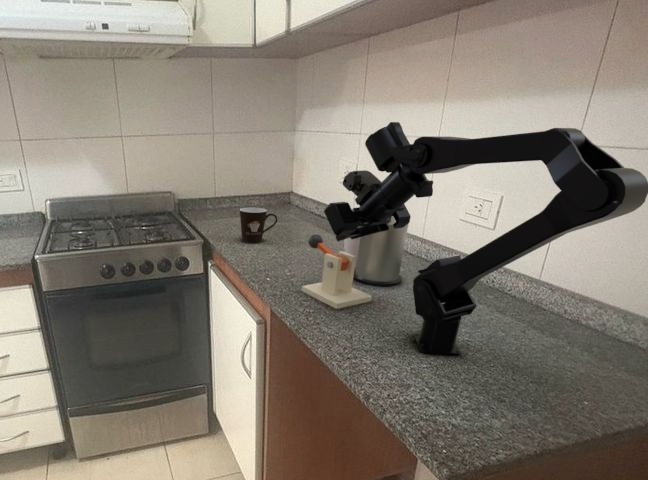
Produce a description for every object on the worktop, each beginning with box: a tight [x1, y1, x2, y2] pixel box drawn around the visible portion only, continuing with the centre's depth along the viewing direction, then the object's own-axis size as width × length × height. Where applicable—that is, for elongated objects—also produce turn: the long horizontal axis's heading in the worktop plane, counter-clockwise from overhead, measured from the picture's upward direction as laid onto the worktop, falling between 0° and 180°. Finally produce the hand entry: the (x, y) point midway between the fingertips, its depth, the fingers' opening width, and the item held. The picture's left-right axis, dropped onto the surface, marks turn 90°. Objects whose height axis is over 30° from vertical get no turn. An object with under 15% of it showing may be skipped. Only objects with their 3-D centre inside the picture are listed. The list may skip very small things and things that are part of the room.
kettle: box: [353, 216, 410, 288], centre depth 107 cm, size 16×12×16 cm
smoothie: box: [343, 238, 360, 269], centre depth 117 cm, size 6×6×14 cm
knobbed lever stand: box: [300, 251, 373, 310], centre depth 97 cm, size 12×10×10 cm
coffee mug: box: [239, 207, 278, 244], centre depth 142 cm, size 12×9×10 cm
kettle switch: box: [308, 234, 349, 271], centre depth 99 cm, size 12×3×3 cm, turn 28°
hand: (344, 238), depth 93 cm, fingers open, 4 cm apart
